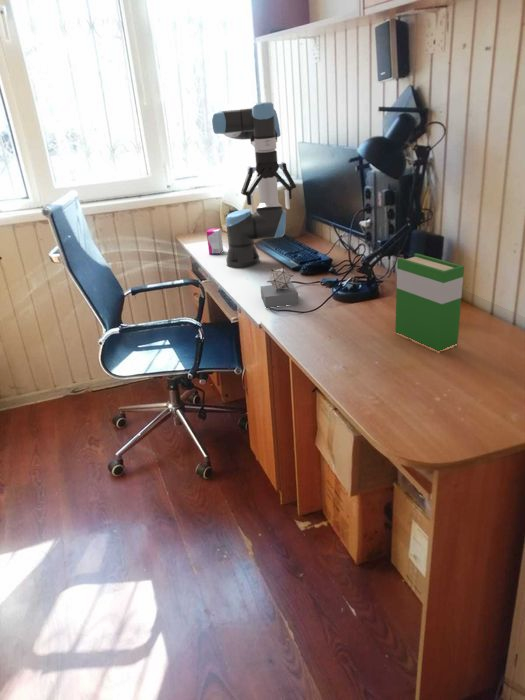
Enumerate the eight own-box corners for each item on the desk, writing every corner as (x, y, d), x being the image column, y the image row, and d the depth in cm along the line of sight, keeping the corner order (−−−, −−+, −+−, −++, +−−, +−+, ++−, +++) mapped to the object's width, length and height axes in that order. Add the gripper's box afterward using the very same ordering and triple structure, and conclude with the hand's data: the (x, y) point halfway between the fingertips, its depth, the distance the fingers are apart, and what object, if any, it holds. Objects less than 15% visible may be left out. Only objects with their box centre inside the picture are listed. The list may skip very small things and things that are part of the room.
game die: (285, 299, 200) (293, 283, 192) (263, 293, 199) (270, 276, 190) (289, 280, 205) (296, 264, 196) (267, 274, 204) (274, 257, 195)
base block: (261, 298, 206) (260, 286, 204) (292, 295, 207) (291, 282, 205) (266, 310, 196) (264, 297, 193) (298, 306, 197) (298, 292, 194)
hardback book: (395, 333, 168) (397, 258, 157) (413, 327, 171) (416, 253, 160) (438, 353, 154) (444, 272, 143) (457, 346, 157) (464, 266, 146)
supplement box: (223, 251, 270) (221, 228, 265) (220, 254, 265) (217, 231, 260) (212, 251, 272) (209, 228, 267) (208, 254, 267) (206, 231, 262)
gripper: (233, 156, 186) (240, 217, 196) (302, 147, 191) (305, 208, 201) (229, 153, 193) (235, 213, 202) (295, 145, 198) (298, 204, 207)
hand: (270, 211), depth 202 cm, fingers open, 13 cm apart
